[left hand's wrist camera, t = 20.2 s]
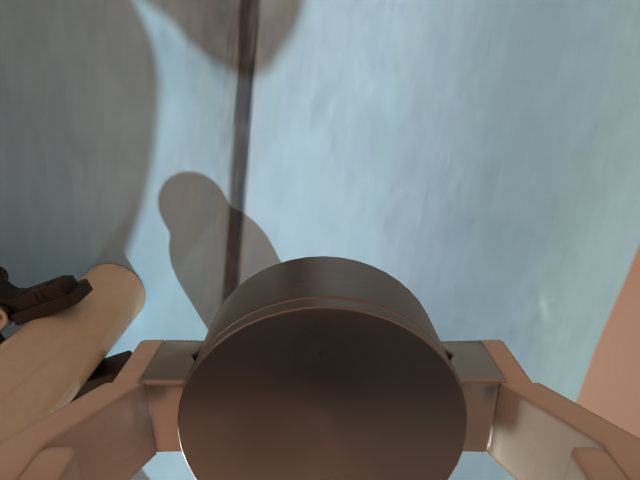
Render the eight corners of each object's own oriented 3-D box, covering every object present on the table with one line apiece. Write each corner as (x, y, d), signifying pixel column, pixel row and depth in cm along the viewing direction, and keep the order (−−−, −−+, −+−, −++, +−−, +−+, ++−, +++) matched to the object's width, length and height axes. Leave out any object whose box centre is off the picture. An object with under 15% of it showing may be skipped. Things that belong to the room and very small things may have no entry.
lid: (471, 397, 11) (510, 476, 9) (281, 478, 12) (273, 570, 10) (372, 211, 9) (390, 251, 7) (160, 323, 10) (116, 389, 8)
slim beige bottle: (77, 309, 32) (-198, 573, 15) (86, 255, 30) (-209, 479, 13) (139, 327, 32) (-58, 600, 15) (151, 274, 31) (-53, 513, 14)
